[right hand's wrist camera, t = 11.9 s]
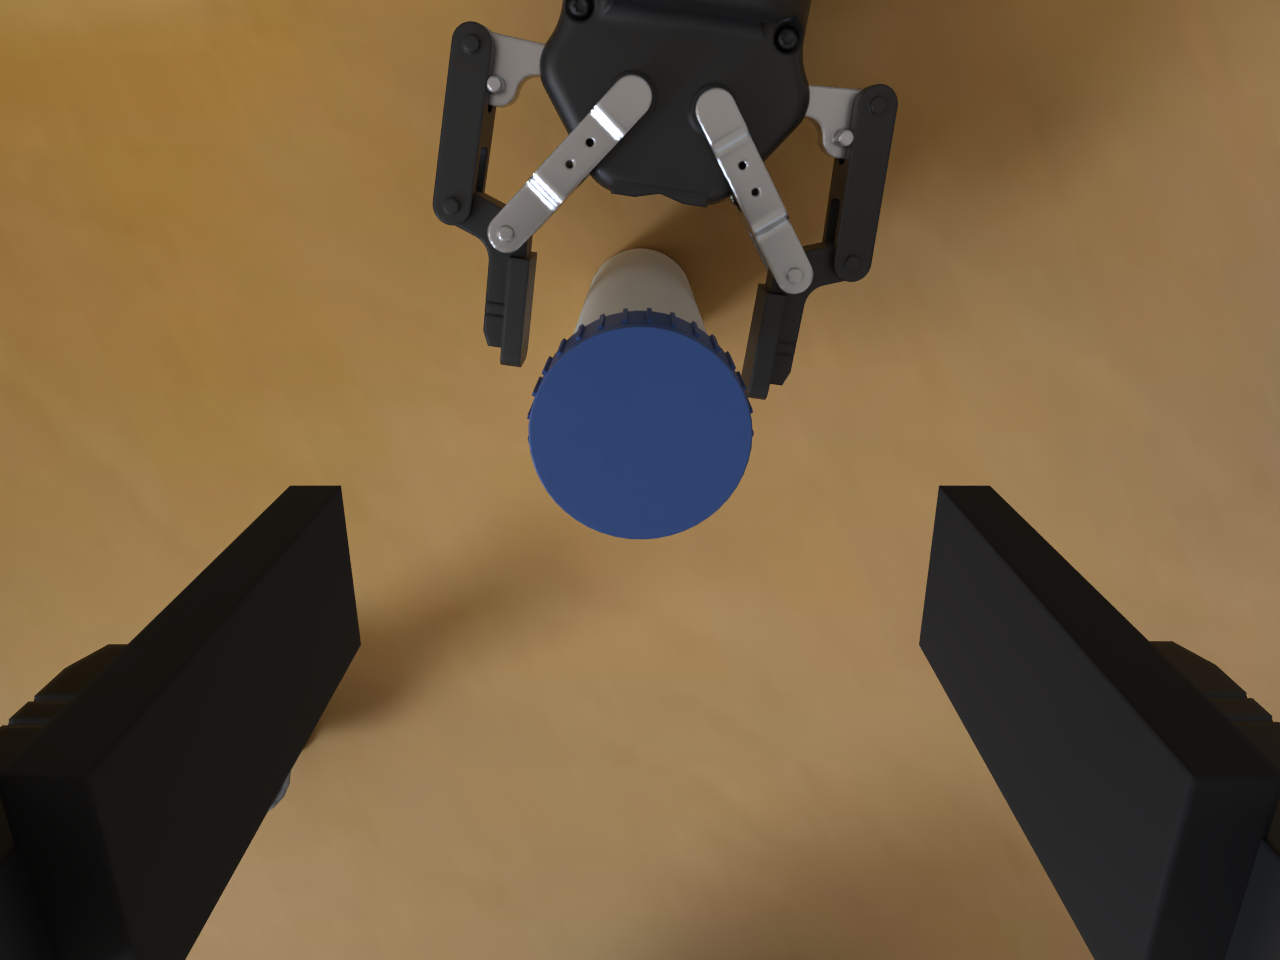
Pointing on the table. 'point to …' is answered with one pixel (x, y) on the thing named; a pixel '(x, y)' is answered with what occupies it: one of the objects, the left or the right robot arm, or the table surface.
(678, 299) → the jar
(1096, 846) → the right robot arm
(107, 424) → the table surface
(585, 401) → the lid
